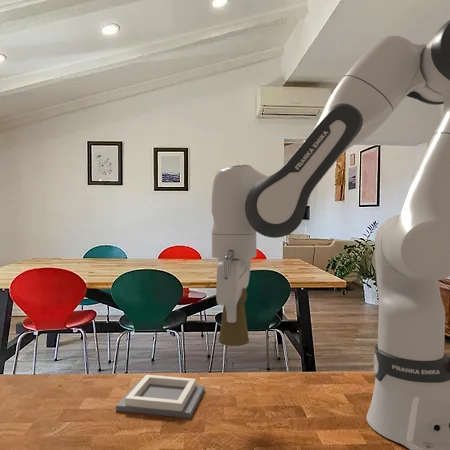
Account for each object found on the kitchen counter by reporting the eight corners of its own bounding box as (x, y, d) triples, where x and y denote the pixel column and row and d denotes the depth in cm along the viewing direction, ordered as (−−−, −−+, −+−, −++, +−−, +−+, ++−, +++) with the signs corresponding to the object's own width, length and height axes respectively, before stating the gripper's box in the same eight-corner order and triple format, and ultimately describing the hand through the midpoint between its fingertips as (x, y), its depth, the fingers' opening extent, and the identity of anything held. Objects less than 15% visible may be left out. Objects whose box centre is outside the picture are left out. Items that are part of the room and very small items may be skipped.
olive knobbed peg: (246, 347, 77) (246, 289, 76) (215, 344, 78) (215, 288, 77) (250, 337, 83) (251, 283, 82) (222, 335, 84) (222, 282, 83)
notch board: (204, 390, 88) (204, 378, 88) (190, 418, 76) (190, 405, 76) (139, 384, 90) (139, 373, 90) (115, 410, 79) (115, 398, 78)
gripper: (243, 254, 69) (243, 334, 69) (254, 244, 89) (254, 306, 89) (207, 253, 70) (207, 332, 70) (226, 243, 90) (226, 305, 90)
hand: (234, 317), depth 80 cm, fingers closed on olive knobbed peg, 4 cm apart
